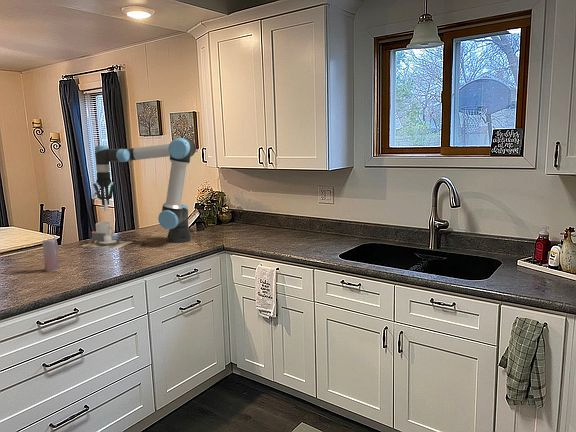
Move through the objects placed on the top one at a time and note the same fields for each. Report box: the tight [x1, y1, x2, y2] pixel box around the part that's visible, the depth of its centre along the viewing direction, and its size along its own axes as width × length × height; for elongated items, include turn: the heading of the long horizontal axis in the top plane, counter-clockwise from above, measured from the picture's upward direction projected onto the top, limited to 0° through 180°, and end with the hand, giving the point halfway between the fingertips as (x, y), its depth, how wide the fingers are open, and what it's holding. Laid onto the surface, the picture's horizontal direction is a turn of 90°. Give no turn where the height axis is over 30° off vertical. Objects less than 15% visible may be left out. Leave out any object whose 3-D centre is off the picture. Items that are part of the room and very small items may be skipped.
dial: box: [91, 231, 117, 243], centre depth 262 cm, size 15×10×7 cm, turn 77°
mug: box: [95, 221, 115, 237], centre depth 279 cm, size 12×8×10 cm
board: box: [82, 238, 133, 249], centre depth 262 cm, size 24×17×3 cm
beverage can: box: [42, 238, 60, 273], centre depth 210 cm, size 6×6×15 cm
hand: (106, 210), depth 266 cm, fingers closed
